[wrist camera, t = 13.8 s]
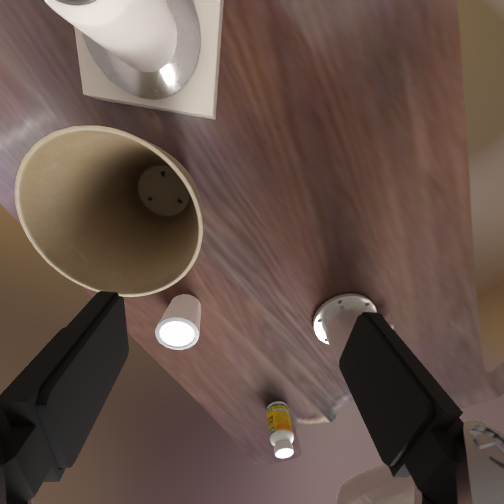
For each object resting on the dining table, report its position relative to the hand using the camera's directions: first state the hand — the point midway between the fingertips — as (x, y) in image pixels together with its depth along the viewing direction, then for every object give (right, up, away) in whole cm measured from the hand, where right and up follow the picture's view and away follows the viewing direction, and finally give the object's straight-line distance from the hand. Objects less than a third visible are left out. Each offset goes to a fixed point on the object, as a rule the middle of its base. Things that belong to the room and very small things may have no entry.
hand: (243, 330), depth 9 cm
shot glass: (-12, -7, +34) cm, 37 cm away
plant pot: (-12, +12, +25) cm, 30 cm away
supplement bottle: (+7, -35, +49) cm, 61 cm away
